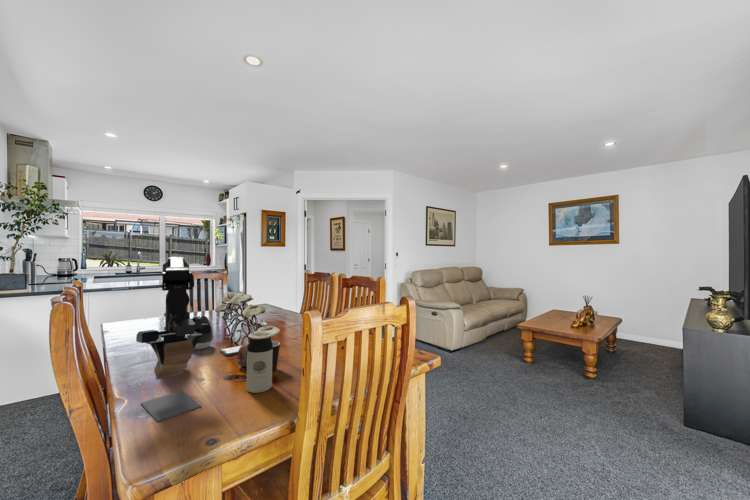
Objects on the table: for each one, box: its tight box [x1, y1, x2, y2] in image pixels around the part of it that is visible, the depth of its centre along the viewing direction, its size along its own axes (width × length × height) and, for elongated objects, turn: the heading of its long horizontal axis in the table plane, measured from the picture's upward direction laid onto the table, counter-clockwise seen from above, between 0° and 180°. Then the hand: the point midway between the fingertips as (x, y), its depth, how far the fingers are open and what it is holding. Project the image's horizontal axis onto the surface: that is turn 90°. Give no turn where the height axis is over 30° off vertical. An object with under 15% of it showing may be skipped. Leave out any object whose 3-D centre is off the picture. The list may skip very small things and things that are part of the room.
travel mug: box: [246, 331, 273, 394], centre depth 105 cm, size 8×8×18 cm
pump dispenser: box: [188, 315, 214, 351], centre depth 147 cm, size 10×10×15 cm
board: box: [153, 340, 195, 380], centre depth 95 cm, size 4×7×12 cm
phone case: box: [219, 345, 242, 357], centre depth 144 cm, size 9×2×16 cm
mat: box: [140, 390, 202, 423], centre depth 92 cm, size 15×11×1 cm
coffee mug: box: [271, 340, 281, 373], centre depth 122 cm, size 12×9×10 cm
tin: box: [236, 342, 249, 368], centre depth 129 cm, size 15×3×8 cm, turn 168°
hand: (175, 361), depth 94 cm, fingers closed on board, 7 cm apart
